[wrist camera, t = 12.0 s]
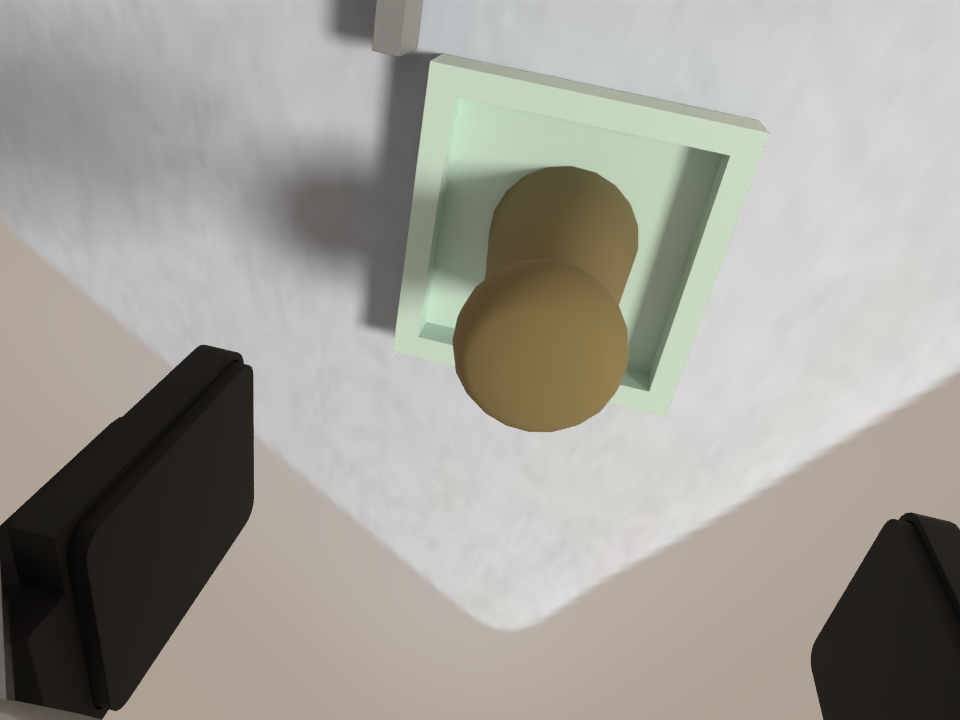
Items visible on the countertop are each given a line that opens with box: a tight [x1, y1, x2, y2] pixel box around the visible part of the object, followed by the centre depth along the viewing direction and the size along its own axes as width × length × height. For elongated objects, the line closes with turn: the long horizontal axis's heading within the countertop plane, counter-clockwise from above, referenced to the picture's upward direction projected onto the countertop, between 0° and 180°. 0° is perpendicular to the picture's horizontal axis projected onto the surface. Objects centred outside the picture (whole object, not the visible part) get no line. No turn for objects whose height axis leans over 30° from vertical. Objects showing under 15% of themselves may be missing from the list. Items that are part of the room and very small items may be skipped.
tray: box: [393, 54, 769, 417], centre depth 30 cm, size 12×12×2 cm
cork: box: [452, 166, 638, 432], centre depth 25 cm, size 6×6×11 cm
